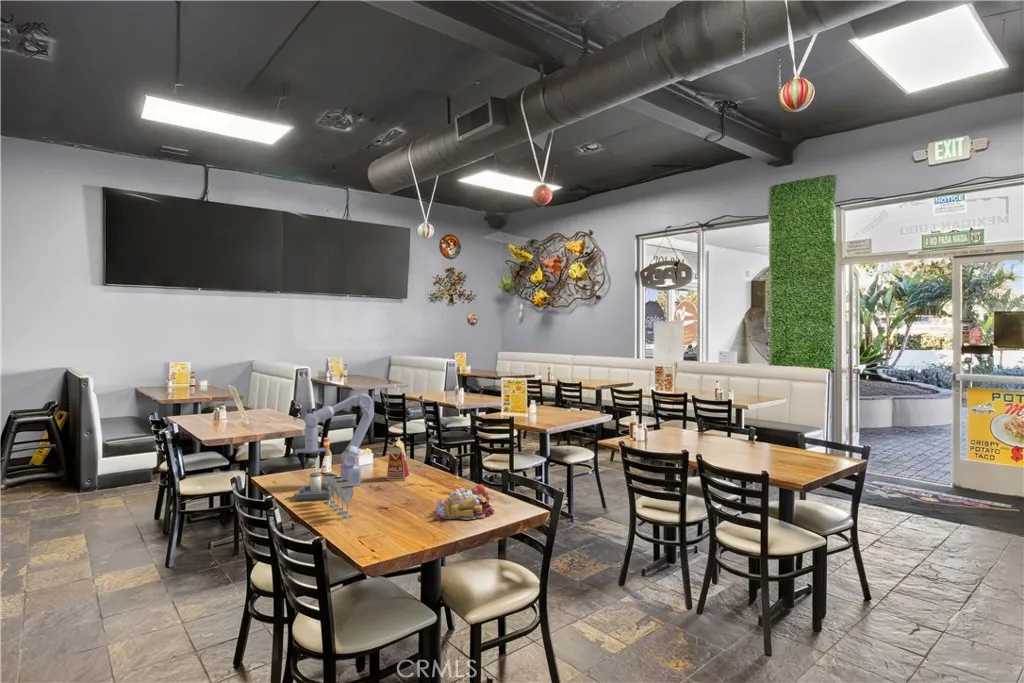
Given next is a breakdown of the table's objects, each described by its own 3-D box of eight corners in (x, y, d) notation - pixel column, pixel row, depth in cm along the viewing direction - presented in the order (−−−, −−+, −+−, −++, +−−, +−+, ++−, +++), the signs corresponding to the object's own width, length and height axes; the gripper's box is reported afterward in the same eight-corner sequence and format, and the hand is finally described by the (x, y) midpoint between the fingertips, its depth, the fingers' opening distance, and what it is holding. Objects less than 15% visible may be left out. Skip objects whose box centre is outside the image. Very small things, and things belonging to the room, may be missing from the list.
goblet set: (356, 517, 214) (356, 483, 214) (342, 520, 211) (341, 486, 210) (334, 500, 237) (333, 469, 236) (320, 502, 233) (320, 471, 233)
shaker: (319, 491, 246) (318, 471, 246) (322, 493, 242) (322, 473, 242) (309, 493, 243) (308, 473, 243) (312, 495, 239) (311, 475, 239)
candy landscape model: (498, 520, 211) (498, 496, 211) (436, 524, 207) (436, 499, 207) (489, 500, 235) (489, 479, 235) (434, 503, 231) (434, 482, 231)
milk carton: (392, 476, 276) (392, 436, 276) (409, 476, 275) (409, 437, 275) (385, 480, 267) (385, 440, 267) (403, 481, 266) (403, 440, 266)
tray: (334, 490, 250) (334, 484, 250) (329, 499, 237) (329, 493, 237) (302, 492, 248) (302, 485, 248) (296, 501, 234) (295, 494, 234)
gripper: (329, 437, 259) (329, 465, 260) (297, 438, 257) (297, 467, 257) (326, 440, 252) (327, 469, 253) (293, 441, 250) (294, 470, 250)
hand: (311, 468), depth 254 cm, fingers open, 7 cm apart
